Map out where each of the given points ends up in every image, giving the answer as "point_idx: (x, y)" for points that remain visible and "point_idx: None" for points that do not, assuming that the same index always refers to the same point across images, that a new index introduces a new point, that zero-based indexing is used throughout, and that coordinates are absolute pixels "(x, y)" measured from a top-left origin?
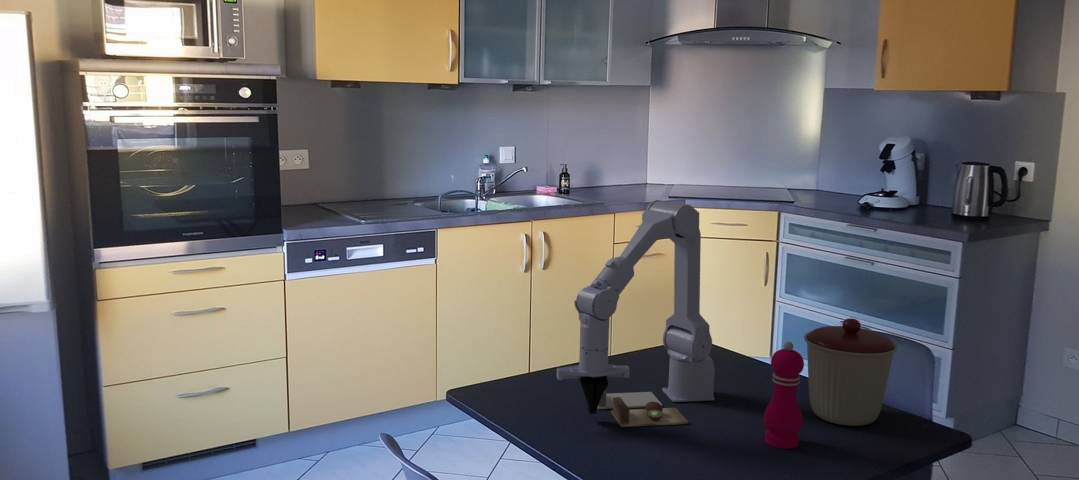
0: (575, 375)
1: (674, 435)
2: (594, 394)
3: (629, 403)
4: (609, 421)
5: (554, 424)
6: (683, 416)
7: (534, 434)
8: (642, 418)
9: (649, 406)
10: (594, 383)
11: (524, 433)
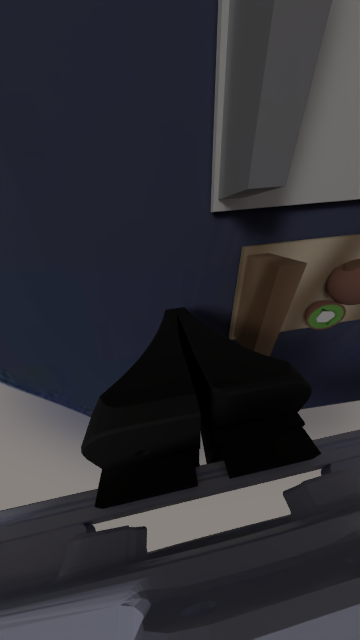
0: (65, 538)
1: (295, 355)
2: (191, 377)
3: (345, 165)
4: (215, 307)
5: (77, 330)
6: None
7: (47, 375)
8: (292, 305)
9: (344, 297)
10: (204, 425)
11: (21, 374)
